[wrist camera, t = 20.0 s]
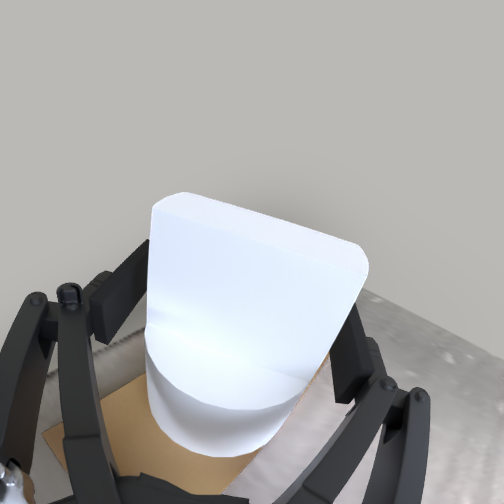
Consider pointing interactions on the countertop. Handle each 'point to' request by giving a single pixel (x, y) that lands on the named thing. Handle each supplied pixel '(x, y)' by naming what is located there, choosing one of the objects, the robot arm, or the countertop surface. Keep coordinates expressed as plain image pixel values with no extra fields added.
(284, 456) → the countertop surface
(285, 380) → the cylinder with rectangular tab
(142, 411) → the tan rectangular plate
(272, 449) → the countertop surface
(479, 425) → the countertop surface
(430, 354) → the countertop surface
